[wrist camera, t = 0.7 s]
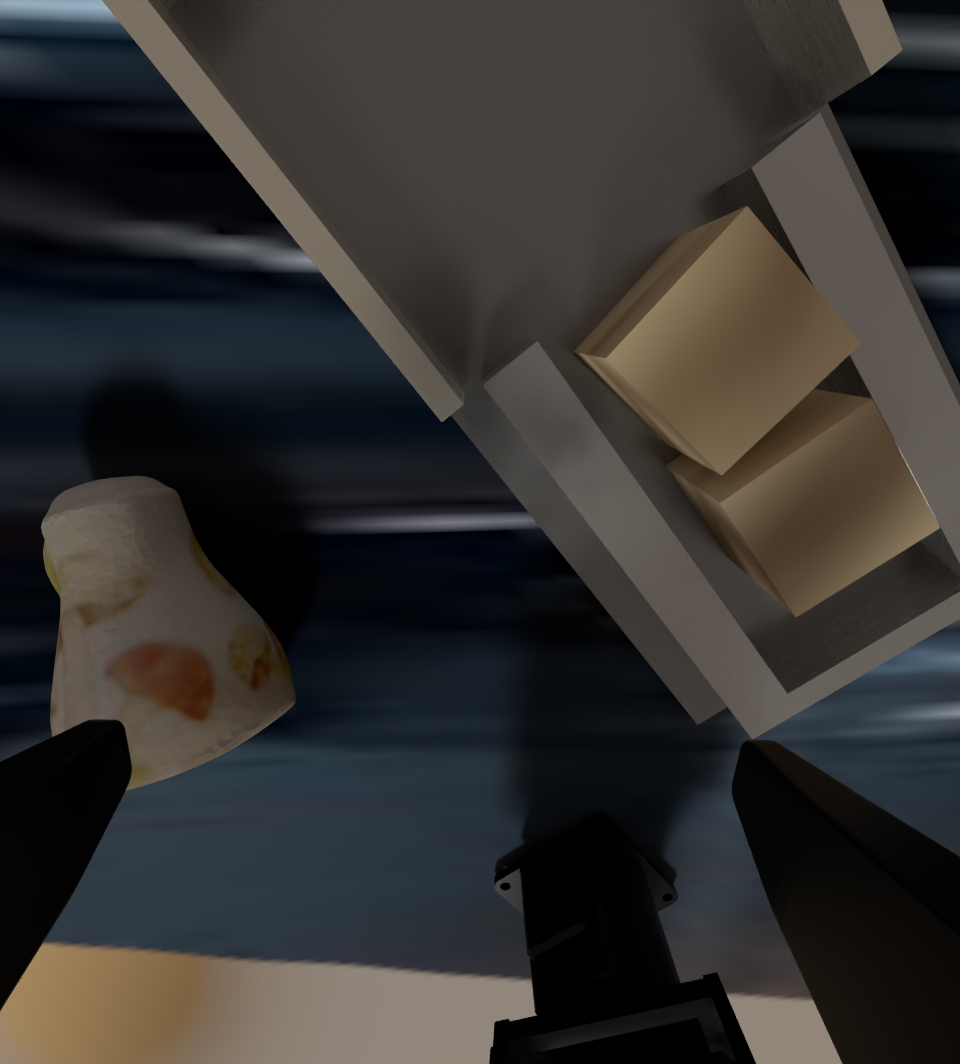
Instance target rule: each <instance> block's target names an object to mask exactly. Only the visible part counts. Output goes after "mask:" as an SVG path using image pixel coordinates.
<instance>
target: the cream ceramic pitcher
mask: <svg viewBox="0 0 960 1064" xmlns="http://www.w3.org/2000/svg"><path fill="white" fill-rule="evenodd" d="M41 528H42V533H43V536H44V538H45V542H44V550H43V555H44V563H45V568H46V572H47V574H48V576H49V578H50V580H51V582H52V584H53V586H54V587H55V589H56V591H57V592H58V594H59V596H60V598H61V616H60V625H59V634H58V642H57V650H56V658H55V667H54V676H53V686H52V695H51V729H52V737H53V736H55V735H58V734H60V733H62V732H64V731H66V730H68V729H70V728H72V727H74V726H76V725H78V724H80V723H82V722H85V721H87V720H91V719H109V720H118V721H120V722H122V723H123V725H124V727H125V730H126V735H127V741H128V746H129V752H130V757H131V763H132V774H131V779H130V782H129V784H128V787H127V789H126V790H130V789H134V788H138V787H141V786H144V785H147V784H151V783H154V782H157V781H160V780H163V779H166V778H169V777H172V776H175V775H177V774H180V773H183V772H185V771H187V770H190V769H192V768H194V767H197V766H199V765H201V764H203V763H205V762H208V761H210V760H212V759H214V758H216V757H218V756H220V755H222V754H224V753H226V752H228V751H230V750H231V749H233V748H235V747H236V746H238V745H240V744H241V743H243V742H245V741H246V740H248V739H249V738H251V737H252V736H254V735H255V734H257V733H258V732H259V731H261V730H262V729H264V728H265V727H267V726H268V725H269V724H271V723H272V722H273V721H275V720H276V719H277V718H279V717H280V716H281V715H282V714H284V713H285V712H286V711H287V710H289V709H290V708H291V707H292V706H293V705H294V703H295V700H296V694H295V690H294V686H293V681H292V675H291V670H290V665H289V663H288V660H287V657H286V655H285V652H284V650H283V648H282V646H281V644H280V642H279V641H278V639H277V638H276V636H275V634H274V633H273V631H272V630H271V628H270V627H269V626H268V625H267V624H266V622H265V621H264V620H263V619H262V618H261V617H260V615H259V614H258V613H257V612H256V611H255V610H254V609H253V608H252V607H251V606H250V605H249V604H248V602H247V601H246V600H245V599H244V598H243V597H242V596H241V595H240V594H239V593H238V592H237V591H236V590H235V589H234V588H233V586H232V585H231V584H230V583H229V582H228V581H227V580H226V579H225V578H224V577H223V576H222V575H221V574H220V573H219V572H218V571H217V570H216V569H215V567H214V566H213V565H212V564H211V562H210V561H209V560H208V558H207V557H206V555H205V554H204V552H203V551H202V549H201V547H200V545H199V544H198V542H197V540H196V538H195V535H194V533H193V531H192V529H191V526H190V524H189V521H188V518H187V516H186V513H185V510H184V508H183V505H182V502H181V499H180V497H179V494H178V493H177V492H176V491H175V490H174V489H172V488H169V487H167V486H165V485H164V484H162V483H161V482H159V481H158V480H155V479H152V478H150V477H145V476H129V477H114V478H107V479H100V480H96V481H92V482H88V483H84V484H82V485H79V486H76V487H74V488H71V489H68V490H66V491H64V492H63V493H61V494H60V495H59V496H57V497H56V498H55V500H54V501H53V502H52V504H51V506H50V509H49V511H48V513H47V515H46V516H45V518H44V519H43V522H42V526H41Z"/></svg>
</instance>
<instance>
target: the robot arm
mask: <svg viewBox="0 0 960 1064" xmlns="http://www.w3.org/2000/svg"><path fill="white" fill-rule="evenodd" d="M131 774H132V763H131V757H130V752H129V746H128V741H127V735H126V730H125V727H124V725H123V723H122V722H120V721H118V720H109V719H91V720H87V721H85V722H82V723H80V724H78V725H76V726H74V727H72V728H70V729H68V730H66V731H64V732H62V733H60V734H58V735H55V736H53V737H51V738H49V739H47V740H45V741H43V742H41V743H39V744H37V745H35V746H33V747H30V748H28V749H26V750H24V751H22V752H20V753H18V754H16V755H14V756H12V757H10V758H8V759H6V760H3V761H1V762H0V1011H1V1009H2V1007H3V1006H4V1004H5V1003H6V1001H7V999H8V998H9V996H10V994H11V993H12V991H13V990H14V988H15V987H16V985H17V983H18V982H19V980H20V979H21V977H22V975H23V974H24V972H25V970H26V969H27V967H28V966H29V964H30V963H31V961H32V959H33V958H34V956H35V954H36V953H37V951H38V950H39V948H40V946H41V945H42V943H43V942H44V940H45V938H46V937H47V935H48V934H49V932H50V930H51V929H52V927H53V926H54V924H55V922H56V921H57V919H58V918H59V916H60V914H61V913H62V911H63V909H64V908H65V906H66V904H67V903H68V901H69V899H70V898H71V896H72V894H73V892H74V891H75V889H76V887H77V885H78V883H79V881H80V880H81V878H82V876H83V874H84V872H85V870H86V868H87V866H88V864H89V862H90V860H91V858H92V856H93V854H94V852H95V850H96V848H97V846H98V844H99V842H100V840H101V838H102V836H103V834H104V832H105V830H106V828H107V826H108V824H109V822H110V820H111V818H112V817H113V815H114V813H115V811H116V809H117V807H118V805H119V803H120V801H121V799H122V797H123V795H124V793H125V791H126V789H127V787H128V784H129V782H130V779H131ZM732 796H733V800H734V804H735V807H736V810H737V812H738V815H739V818H740V821H741V824H742V827H743V829H744V832H745V835H746V838H747V841H748V844H749V847H750V849H751V852H752V855H753V858H754V861H755V864H756V867H757V869H758V872H759V875H760V878H761V881H762V884H763V886H764V889H765V892H766V895H767V897H768V900H769V903H770V905H771V908H772V910H773V913H774V915H775V917H776V919H777V922H778V924H779V926H780V929H781V931H782V933H783V935H784V937H785V939H786V942H787V944H788V946H789V948H790V950H791V953H792V955H793V957H794V959H795V961H796V963H797V966H798V968H799V970H800V972H801V974H802V976H803V979H804V981H805V983H806V985H807V987H808V989H809V992H810V994H811V996H812V998H813V1000H814V1003H815V1005H816V1007H817V1009H818V1011H819V1013H820V1016H821V1018H822V1020H823V1022H824V1024H825V1026H826V1029H827V1031H828V1033H829V1035H830V1037H831V1040H832V1042H833V1044H834V1046H835V1048H836V1050H837V1053H838V1055H839V1057H840V1059H841V1061H842V1063H843V1064H960V857H959V856H958V855H956V854H954V853H953V852H951V851H950V850H948V849H946V848H945V847H943V846H942V845H940V844H938V843H937V842H935V841H934V840H932V839H930V838H929V837H927V836H926V835H924V834H922V833H921V832H919V831H918V830H916V829H914V828H913V827H911V826H910V825H908V824H906V823H905V822H903V821H902V820H900V819H898V818H897V817H895V816H894V815H892V814H890V813H889V812H887V811H886V810H884V809H882V808H881V807H879V806H878V805H876V804H874V803H873V802H871V801H870V800H868V799H866V798H865V797H863V796H862V795H860V794H858V793H857V792H855V791H854V790H852V789H850V788H849V787H847V786H846V785H844V784H842V783H841V782H839V781H838V780H836V779H835V778H833V777H831V776H830V775H828V774H827V773H825V772H823V771H822V770H820V769H819V768H817V767H815V766H814V765H812V764H811V763H809V762H807V761H806V760H804V759H803V758H801V757H799V756H798V755H796V754H795V753H793V752H791V751H790V750H788V749H787V748H785V747H783V746H782V745H780V744H779V743H777V742H775V741H771V740H747V741H745V742H744V743H743V744H742V746H741V749H740V753H739V757H738V761H737V765H736V770H735V774H734V778H733V782H732ZM602 825H604V826H602ZM600 826H602V827H600ZM494 879H495V889H496V891H497V892H498V893H499V894H500V895H501V896H502V897H503V898H505V899H506V900H507V901H508V902H509V903H510V904H511V905H512V906H513V907H514V908H516V909H517V910H518V911H519V912H520V913H521V914H522V915H523V916H524V925H525V935H526V946H527V954H528V956H529V957H530V966H531V977H532V987H533V997H534V1007H535V1013H536V1014H537V1016H532V1017H528V1018H523V1019H520V1020H514V1021H510V1020H509V1019H505V1020H501V1021H496V1022H495V1024H494V1025H495V1026H494V1039H493V1047H491V1049H490V1063H489V1064H756V1062H755V1060H754V1058H753V1055H752V1053H751V1051H750V1048H749V1046H748V1044H747V1041H746V1039H745V1037H744V1034H743V1032H742V1030H741V1027H740V1025H739V1023H738V1020H737V1018H736V1016H735V1013H734V1011H733V1009H732V1006H731V1004H730V1002H729V999H728V997H727V995H726V992H725V990H724V988H723V985H722V983H721V981H720V978H719V976H718V974H717V972H716V973H711V974H707V975H703V979H699V980H694V981H690V982H685V983H680V980H679V977H678V974H677V970H676V967H675V964H674V961H673V958H672V955H671V952H670V949H669V946H668V943H667V940H666V937H665V934H664V931H663V928H662V924H661V921H660V918H659V915H658V911H660V910H662V909H664V908H665V907H667V906H669V905H671V904H673V903H674V902H676V900H677V899H678V895H677V892H676V889H675V887H674V885H673V884H672V883H671V882H670V881H669V880H668V879H667V878H666V876H665V875H664V874H663V873H662V872H661V871H660V870H659V869H658V868H657V867H656V866H655V865H654V864H653V862H652V861H651V860H650V859H649V858H648V857H647V856H646V855H645V854H644V853H643V852H642V851H641V850H640V848H639V847H638V846H637V845H636V844H635V843H634V842H633V841H632V840H631V839H630V838H629V837H628V836H627V834H626V833H625V832H624V831H623V830H622V829H621V828H620V827H619V826H618V825H617V824H616V823H615V822H614V820H613V819H612V818H611V817H610V816H608V815H606V814H598V815H596V816H594V817H592V818H590V819H589V820H587V821H585V822H583V823H582V824H580V825H578V826H577V827H575V828H573V829H572V830H570V831H568V832H567V833H565V834H563V835H561V836H560V837H558V838H556V839H555V840H553V841H551V842H550V843H548V844H546V845H545V846H543V847H541V848H539V849H538V850H536V851H534V852H533V853H531V854H529V855H528V856H526V857H524V858H523V859H521V860H519V861H517V862H516V863H514V864H512V865H511V866H509V867H507V868H506V869H504V870H502V871H501V872H499V873H498V874H496V876H495V878H494Z"/></svg>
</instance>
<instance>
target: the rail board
mask: <svg viewBox="0 0 960 1064" xmlns="http://www.w3.org/2000/svg"><path fill="white" fill-rule="evenodd" d="M102 1H103V2H104V3H105V4H106V6H107V7H108V8H109V9H110V11H111V12H112V13H113V14H114V15H115V17H116V18H117V19H118V20H119V22H120V23H121V24H122V25H123V27H124V28H125V29H126V30H127V32H128V33H129V34H130V35H131V37H132V38H133V39H134V40H135V42H136V43H137V44H138V45H139V47H140V48H141V49H142V50H143V52H144V53H145V54H146V55H147V56H148V58H149V59H150V60H151V61H152V63H153V64H154V65H155V66H156V68H157V69H158V70H159V71H160V73H161V74H162V75H163V76H164V78H165V79H166V80H167V81H168V83H169V84H170V85H171V86H172V88H173V89H174V90H175V91H176V93H177V94H178V95H179V96H180V98H181V99H182V100H183V101H184V102H185V104H186V105H187V106H188V107H189V109H190V110H191V111H192V112H193V114H194V115H195V116H196V117H197V119H198V120H199V121H200V122H201V124H202V125H203V126H204V127H205V129H206V130H207V131H208V132H209V134H210V135H211V136H212V137H213V139H214V140H215V141H216V142H217V143H218V145H219V146H220V147H221V148H222V150H223V151H224V152H225V153H226V155H227V156H228V157H229V158H230V160H231V161H232V162H233V163H234V165H235V166H236V167H237V168H238V170H239V171H240V172H241V173H242V175H243V176H244V177H245V178H246V180H247V181H248V182H249V183H250V184H251V186H252V187H253V188H254V189H255V191H256V192H257V193H258V194H259V196H260V197H261V198H262V199H263V201H264V202H265V203H266V204H267V206H268V207H269V208H270V209H271V211H272V212H273V213H274V214H275V216H276V217H277V218H278V219H279V221H280V222H281V223H282V224H283V225H284V227H285V228H286V229H287V230H288V232H289V233H290V234H291V235H292V237H293V238H294V239H295V240H296V242H297V243H298V244H299V245H300V247H301V248H302V249H303V250H304V252H305V253H306V254H307V255H308V257H309V258H310V259H311V260H312V262H313V263H314V264H315V265H316V266H317V268H318V269H319V270H320V271H321V273H322V274H323V275H324V276H325V278H326V279H327V280H328V281H329V283H330V284H331V285H332V286H333V288H334V289H335V290H336V291H337V293H338V294H339V295H340V296H341V298H342V299H343V300H344V301H345V303H346V304H347V305H348V306H349V307H350V309H351V310H352V311H353V312H354V314H355V315H356V316H357V317H358V319H359V320H360V321H361V322H362V324H363V325H364V326H365V327H366V329H367V330H368V331H369V332H370V334H371V335H372V336H373V337H374V339H375V340H376V341H377V342H378V344H379V345H380V346H381V347H382V348H383V350H384V351H385V352H386V353H387V355H388V356H389V357H390V358H391V360H392V361H393V362H394V363H395V365H396V366H397V367H398V368H399V370H400V371H401V372H402V373H403V375H404V376H405V377H406V378H407V380H408V381H409V382H410V383H411V385H412V386H413V387H414V388H415V389H416V391H417V392H418V393H419V394H420V396H421V397H422V398H423V399H424V401H425V402H426V403H427V404H428V406H429V407H430V408H431V409H432V411H433V412H434V413H435V414H436V416H437V417H438V418H439V419H440V421H441V422H443V421H444V420H445V419H446V418H448V417H449V416H450V415H451V416H452V417H453V418H454V419H455V421H456V422H457V423H458V424H459V426H460V427H461V428H462V429H463V431H464V432H465V433H466V434H467V436H468V437H469V438H470V439H471V441H472V442H473V443H474V444H475V446H476V447H477V448H478V449H479V451H480V452H481V453H482V455H483V456H484V457H485V458H486V460H487V461H488V462H489V463H490V465H491V466H492V467H493V468H494V470H495V471H496V472H497V473H498V475H499V476H500V477H501V478H502V480H503V481H504V482H505V483H506V485H507V486H508V487H509V488H510V490H511V491H512V492H513V494H514V495H515V496H516V497H517V499H518V500H519V501H520V502H521V504H522V505H523V506H524V507H525V509H526V510H527V511H528V512H529V514H530V515H531V516H532V517H533V519H534V520H535V521H536V522H537V524H538V525H539V526H540V527H541V529H542V530H543V531H544V532H545V534H546V535H547V536H548V538H549V539H550V540H551V541H552V543H553V544H554V545H555V546H556V548H557V549H558V550H559V551H560V553H561V554H562V555H563V556H564V558H565V559H566V560H567V561H568V563H569V564H570V565H571V566H572V568H573V569H574V570H575V571H576V573H577V574H578V575H579V576H580V578H581V579H582V580H583V582H584V583H585V584H586V585H587V587H588V588H589V589H590V590H591V592H592V593H593V594H594V595H595V597H596V598H597V599H598V600H599V602H600V603H601V604H602V605H603V607H604V608H605V609H606V610H607V612H608V613H609V614H610V615H611V617H612V618H613V619H614V620H615V622H616V623H617V624H618V626H619V627H620V628H621V629H622V631H623V632H624V633H625V634H626V636H627V637H628V638H629V639H630V641H631V642H632V643H633V644H634V646H635V647H636V648H637V649H638V651H639V652H640V653H641V654H642V656H643V657H644V658H645V659H646V661H647V662H648V663H649V664H650V666H651V667H652V668H653V670H654V671H655V672H656V673H657V675H658V676H659V677H660V678H661V680H662V681H663V682H664V683H665V685H666V686H667V687H668V688H669V690H670V691H671V692H672V693H673V695H674V696H675V697H676V698H677V700H678V701H679V702H680V703H681V705H682V706H683V707H684V708H685V710H686V711H687V712H688V714H689V715H690V716H691V717H692V719H693V720H694V721H695V722H696V724H697V725H699V724H700V723H702V722H704V721H705V720H707V719H709V718H710V717H712V716H713V715H715V714H717V713H718V712H720V711H722V710H723V709H725V708H727V707H728V708H729V709H730V711H731V712H732V713H733V715H734V716H735V717H736V719H737V720H738V721H739V722H740V724H741V725H742V726H743V728H744V729H745V730H746V732H747V733H748V734H749V736H750V737H751V738H752V739H754V738H756V737H758V736H759V735H761V734H763V733H764V732H766V731H768V730H770V729H771V728H773V727H775V726H776V725H778V724H780V723H782V722H783V721H785V720H787V719H788V718H790V717H792V716H794V715H795V714H797V713H799V712H800V711H802V710H804V709H806V708H807V707H809V706H811V705H812V704H814V703H816V702H818V701H819V700H821V699H823V698H824V697H826V696H828V695H829V694H831V693H833V692H835V691H836V690H838V689H840V688H841V687H843V686H845V685H847V684H848V683H850V682H852V681H853V680H855V679H857V678H859V677H860V676H862V675H864V674H865V673H867V672H869V671H871V670H872V669H874V668H876V667H877V666H879V665H881V664H883V663H884V662H886V661H888V660H889V659H891V658H893V657H895V656H896V655H898V654H900V653H901V652H903V651H905V650H907V649H908V648H910V647H912V646H913V645H915V644H917V643H918V642H920V641H922V640H924V639H925V638H927V637H929V636H930V635H932V634H934V633H936V632H937V631H939V630H941V629H942V628H944V627H946V626H948V625H949V624H951V623H953V622H954V621H956V620H958V619H960V384H959V382H958V380H957V378H956V376H955V373H954V371H953V369H952V367H951V365H950V363H949V361H948V358H947V356H946V354H945V352H944V350H943V348H942V346H941V344H940V341H939V339H938V337H937V335H936V333H935V331H934V329H933V326H932V324H931V322H930V320H929V318H928V316H927V314H926V312H925V309H924V307H923V305H922V303H921V301H920V299H919V297H918V294H917V292H916V290H915V288H914V286H913V284H912V282H911V280H910V277H909V275H908V273H907V271H906V269H905V267H904V265H903V262H902V260H901V258H900V256H899V254H898V252H897V250H896V248H895V245H894V243H893V241H892V239H891V237H890V235H889V233H888V230H887V228H886V226H885V224H884V222H883V220H882V218H881V216H880V213H879V211H878V209H877V207H876V205H875V203H874V201H873V198H872V196H871V194H870V192H869V190H868V188H867V186H866V184H865V181H864V179H863V177H862V175H861V173H860V171H859V169H858V166H857V164H856V162H855V160H854V158H853V156H852V154H851V152H850V149H849V147H848V145H847V143H846V141H845V139H844V137H843V134H842V132H841V130H840V128H839V126H838V124H837V122H836V120H835V117H834V115H833V113H832V111H831V109H830V107H829V105H828V102H830V101H832V100H833V99H835V98H836V97H838V96H840V95H841V94H843V93H844V92H846V91H848V90H849V89H851V88H852V87H854V86H855V85H857V84H859V83H860V82H862V81H863V80H865V79H867V78H868V77H870V76H871V75H873V74H874V73H875V72H876V71H877V70H879V69H880V68H881V67H882V66H884V65H885V64H886V63H887V62H889V61H890V60H891V59H892V58H894V57H895V56H896V55H897V54H899V53H900V52H901V51H902V50H903V49H902V47H901V44H900V42H899V40H898V37H897V35H896V32H895V30H894V28H893V25H892V23H891V21H890V18H889V16H888V13H887V11H886V9H885V6H884V4H883V1H882V0H102ZM746 206H748V207H749V209H750V210H751V211H752V212H753V213H754V215H755V216H756V217H757V218H758V219H759V221H760V222H761V223H762V224H763V226H764V227H765V228H766V229H767V230H768V232H769V233H770V234H771V235H772V236H773V238H774V239H775V240H776V241H777V242H778V244H779V245H780V246H781V247H782V249H783V250H784V251H785V252H786V253H787V255H788V256H789V257H790V258H791V259H792V261H793V262H794V263H795V264H796V265H797V267H798V268H799V269H800V270H801V272H802V273H803V274H804V275H805V276H806V278H807V279H808V280H809V281H810V282H811V284H812V285H813V286H814V287H815V288H816V290H817V291H818V292H819V293H820V295H821V296H822V297H823V298H824V299H825V301H826V302H827V303H828V304H829V305H830V307H831V308H832V309H833V310H834V311H835V313H836V314H837V315H838V316H839V318H840V319H841V320H842V321H843V322H844V324H845V325H846V326H847V327H848V328H849V330H850V331H851V332H852V333H853V334H854V336H855V337H856V338H857V339H858V341H859V342H860V343H861V344H860V345H859V346H858V347H857V348H856V349H855V350H854V351H853V352H852V353H851V354H850V355H849V356H848V357H847V358H846V359H845V360H843V361H842V362H841V363H840V364H839V365H838V366H837V367H836V368H835V369H834V370H833V371H832V372H831V373H830V374H829V375H828V376H827V377H825V378H824V379H823V380H822V381H821V382H820V383H819V384H818V385H817V386H816V387H815V388H814V389H818V390H824V391H829V392H835V393H841V394H847V395H853V396H859V397H865V398H871V399H873V401H874V403H875V405H876V407H877V409H878V411H879V413H880V415H881V416H882V418H883V420H884V422H885V424H886V426H887V428H888V430H889V432H890V434H891V435H892V437H893V439H894V441H895V443H896V445H897V447H898V449H899V451H900V453H901V454H902V456H903V458H904V460H905V462H906V464H907V466H908V468H909V470H910V472H911V473H912V475H913V477H914V479H915V481H916V483H917V485H918V487H919V489H920V490H921V492H922V494H923V496H924V498H925V500H926V502H927V504H928V506H929V508H930V509H931V511H932V513H933V515H934V517H935V519H936V521H937V523H938V525H939V527H940V528H939V529H938V530H936V531H934V532H933V533H931V534H930V535H928V536H926V537H925V538H923V539H922V540H920V541H918V542H917V543H915V544H914V545H912V546H910V547H909V548H907V549H906V550H904V551H902V552H901V553H899V554H897V555H896V556H894V557H893V558H891V559H889V560H888V561H886V562H885V563H883V564H881V565H880V566H878V567H877V568H875V569H873V570H872V571H870V572H869V573H867V574H865V575H864V576H862V577H860V578H859V579H857V580H856V581H854V582H852V583H851V584H849V585H848V586H846V587H844V588H843V589H841V590H840V591H838V592H836V593H835V594H833V595H832V596H830V597H828V598H827V599H825V600H823V601H822V602H820V603H819V604H817V605H815V606H814V607H812V608H811V609H809V610H807V611H806V612H804V613H803V614H801V615H799V616H798V617H795V616H794V615H792V614H791V613H790V612H789V611H788V610H787V609H786V608H784V607H783V606H782V605H781V604H780V603H779V602H778V601H776V600H775V599H774V598H773V597H772V596H771V595H770V594H768V593H767V592H766V591H765V590H764V589H763V588H762V587H760V586H759V585H758V584H757V583H756V582H755V581H754V580H752V579H751V578H750V577H749V576H748V575H747V574H746V573H744V572H743V571H742V570H741V569H740V568H739V567H738V566H737V565H735V564H734V563H733V562H732V561H731V560H730V559H729V558H728V557H727V555H726V554H725V552H724V551H723V549H722V548H721V546H720V545H719V543H718V542H717V541H716V539H715V538H714V536H713V535H712V533H711V532H710V530H709V529H708V527H707V526H706V524H705V523H704V522H703V520H702V519H701V517H700V516H699V514H698V513H697V511H696V510H695V508H694V507H693V505H692V504H691V503H690V501H689V500H688V498H687V497H686V495H685V494H684V492H683V491H682V489H681V488H680V486H679V485H678V483H677V482H676V481H675V479H674V478H673V476H672V475H671V473H670V472H669V470H668V469H667V467H666V466H665V465H667V464H668V463H670V462H671V461H672V460H674V459H675V458H677V457H678V456H679V455H681V454H682V453H681V452H680V451H678V450H676V449H674V448H673V447H671V446H669V445H667V444H666V443H665V442H664V441H663V440H662V439H661V438H660V437H659V436H658V435H657V434H656V433H655V432H654V431H653V430H652V429H651V428H650V427H649V426H648V425H647V424H646V423H645V422H644V421H643V420H642V419H641V418H640V417H639V416H638V415H637V414H636V413H635V412H634V411H633V410H632V409H631V408H630V407H629V406H628V405H627V404H626V403H625V402H624V401H623V400H622V399H621V398H620V397H619V396H618V395H617V394H616V393H614V392H613V391H612V390H611V389H610V388H609V387H608V386H607V385H606V384H605V383H604V382H603V381H602V380H601V379H600V378H599V377H598V376H597V375H596V374H595V373H594V372H593V371H592V370H591V369H590V368H589V367H588V366H587V365H586V364H585V363H584V362H583V361H582V360H581V359H580V358H579V357H578V356H577V355H576V354H575V353H574V351H575V350H576V349H577V348H578V347H579V346H580V344H581V343H582V342H583V341H584V340H585V339H586V338H587V337H588V336H589V335H590V333H591V332H592V331H593V330H594V329H595V328H596V327H597V326H598V325H599V323H600V322H601V321H602V320H603V319H604V318H605V317H606V316H607V315H608V314H609V312H610V311H611V310H612V309H613V308H614V307H615V306H616V305H617V304H618V302H619V301H620V300H621V299H622V298H623V297H624V296H625V295H626V294H627V293H628V291H629V290H630V289H631V288H632V287H633V286H634V285H635V284H636V283H637V281H638V280H639V279H640V278H641V277H642V276H643V275H644V274H645V273H646V272H647V270H648V269H649V268H650V267H651V266H652V265H653V264H654V263H655V262H656V260H657V259H658V258H659V257H660V256H661V255H662V254H663V253H664V252H665V250H666V249H667V248H668V247H669V246H670V245H671V244H672V243H673V242H674V241H675V239H676V238H677V237H678V236H681V235H683V234H685V233H687V232H690V231H692V230H694V229H696V228H698V227H701V226H703V225H705V224H707V223H710V222H712V221H714V220H716V219H719V218H721V217H723V216H725V215H728V214H730V213H732V212H734V211H737V210H739V209H741V208H743V207H746Z"/></svg>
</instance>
